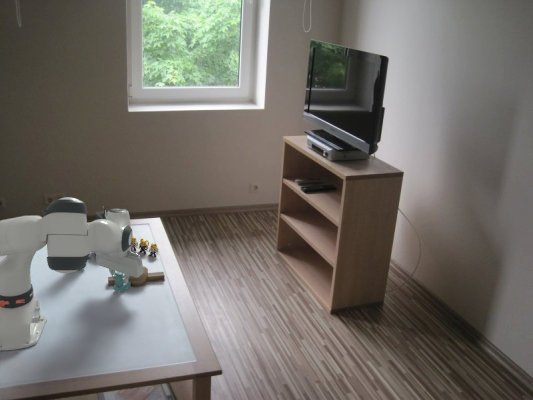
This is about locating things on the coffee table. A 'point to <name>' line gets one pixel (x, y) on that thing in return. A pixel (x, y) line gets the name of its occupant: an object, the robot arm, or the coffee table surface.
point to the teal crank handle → (120, 282)
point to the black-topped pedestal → (101, 214)
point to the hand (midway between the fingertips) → (120, 280)
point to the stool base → (141, 278)
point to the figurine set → (143, 246)
